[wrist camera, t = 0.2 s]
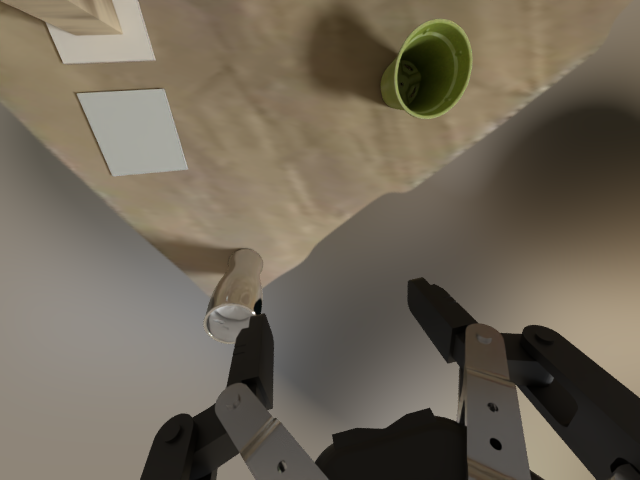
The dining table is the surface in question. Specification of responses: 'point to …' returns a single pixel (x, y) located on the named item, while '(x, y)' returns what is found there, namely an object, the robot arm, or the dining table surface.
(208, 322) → the beer glass
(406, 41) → the plant pot
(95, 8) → the beech block
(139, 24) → the tile
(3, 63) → the dining table surface
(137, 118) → the rest pad
